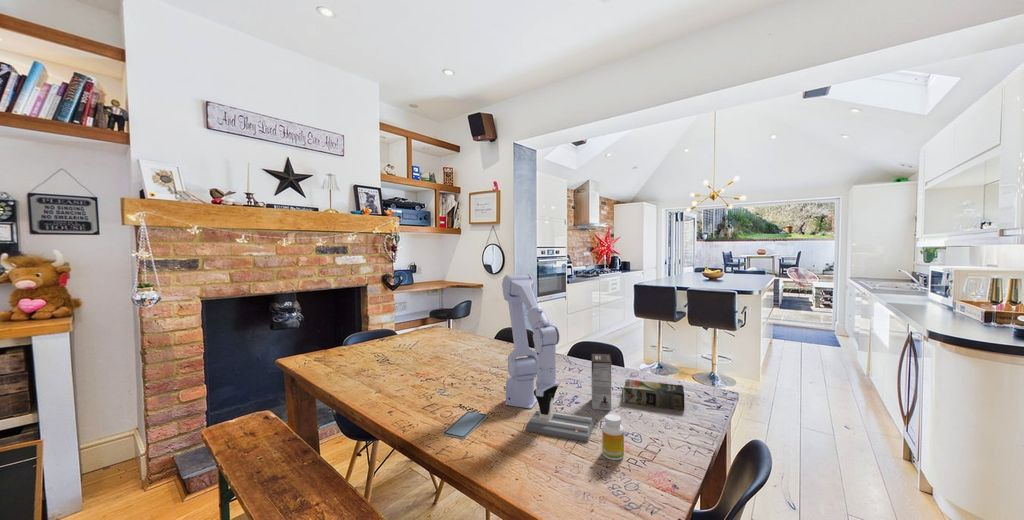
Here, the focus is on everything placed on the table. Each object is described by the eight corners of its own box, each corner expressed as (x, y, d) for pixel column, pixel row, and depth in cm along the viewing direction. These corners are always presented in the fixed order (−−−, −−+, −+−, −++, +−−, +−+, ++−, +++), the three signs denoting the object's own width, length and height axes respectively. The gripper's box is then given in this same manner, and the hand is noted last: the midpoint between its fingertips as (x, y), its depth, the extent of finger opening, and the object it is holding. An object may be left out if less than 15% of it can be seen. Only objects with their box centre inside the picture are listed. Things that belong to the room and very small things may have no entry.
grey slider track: (525, 430, 106) (525, 422, 106) (538, 413, 118) (538, 405, 117) (588, 442, 100) (588, 433, 100) (594, 422, 111) (594, 414, 111)
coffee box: (591, 398, 129) (591, 353, 129) (610, 399, 128) (610, 354, 127) (591, 409, 120) (591, 360, 120) (612, 411, 119) (611, 362, 118)
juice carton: (619, 403, 125) (620, 385, 125) (622, 392, 135) (622, 376, 134) (684, 413, 118) (684, 394, 118) (682, 401, 127) (683, 383, 127)
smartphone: (441, 433, 105) (467, 410, 118) (441, 436, 105) (467, 413, 119) (464, 438, 102) (488, 414, 116) (464, 441, 102) (488, 417, 116)
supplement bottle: (626, 460, 91) (626, 422, 90) (604, 460, 91) (604, 422, 91) (620, 449, 96) (620, 412, 96) (600, 449, 96) (599, 412, 96)
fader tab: (539, 420, 109) (538, 400, 109) (543, 414, 113) (542, 395, 113) (550, 421, 108) (550, 402, 108) (553, 416, 112) (553, 397, 111)
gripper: (552, 375, 102) (553, 424, 102) (564, 360, 115) (565, 403, 115) (528, 372, 104) (529, 420, 105) (543, 358, 118) (543, 400, 118)
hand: (546, 411), depth 110 cm, fingers closed on fader tab, 3 cm apart
